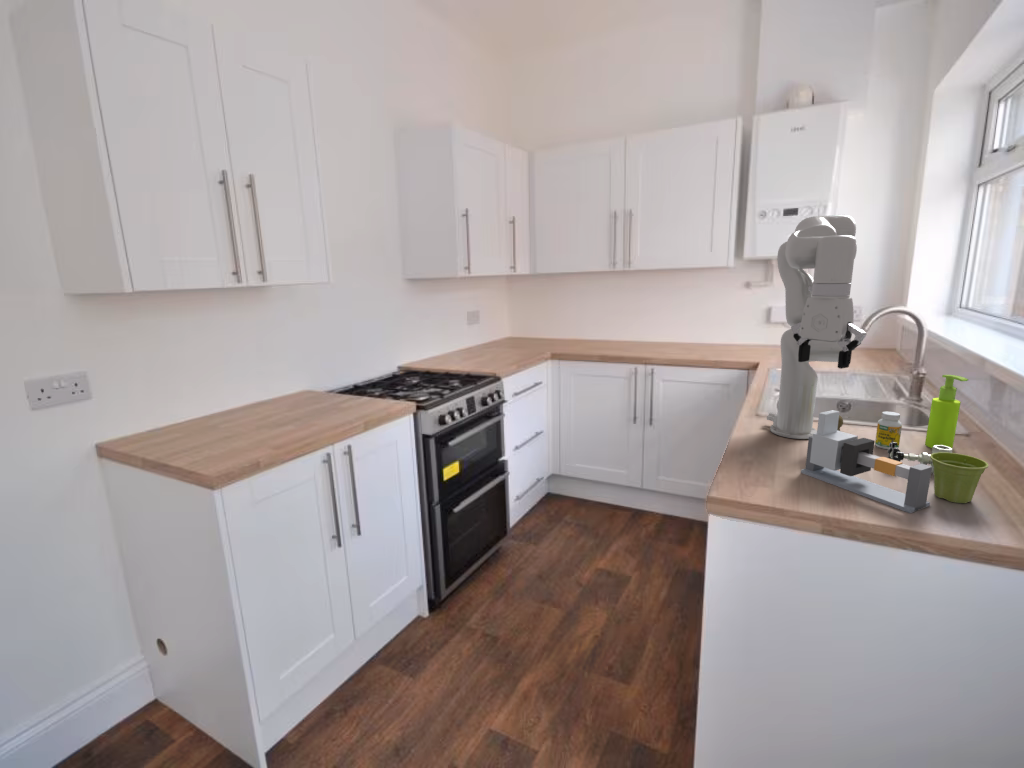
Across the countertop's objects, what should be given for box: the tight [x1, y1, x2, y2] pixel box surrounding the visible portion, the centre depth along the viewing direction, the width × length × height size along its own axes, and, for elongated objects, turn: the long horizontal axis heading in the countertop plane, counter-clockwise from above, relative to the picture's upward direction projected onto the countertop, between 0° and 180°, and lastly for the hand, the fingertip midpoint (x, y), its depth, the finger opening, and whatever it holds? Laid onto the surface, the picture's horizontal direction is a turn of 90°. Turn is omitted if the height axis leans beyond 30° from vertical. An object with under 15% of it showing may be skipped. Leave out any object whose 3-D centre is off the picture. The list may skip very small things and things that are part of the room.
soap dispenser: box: [924, 374, 969, 450], centre depth 138 cm, size 6×7×20 cm
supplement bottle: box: [874, 411, 903, 450], centre depth 141 cm, size 5×5×10 cm
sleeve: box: [810, 409, 859, 471], centre depth 121 cm, size 6×7×12 cm
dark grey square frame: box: [839, 437, 875, 476], centre depth 116 cm, size 2×7×7 cm, turn 115°
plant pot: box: [930, 452, 989, 504], centre depth 110 cm, size 9×9×9 cm
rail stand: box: [800, 436, 932, 514], centre depth 116 cm, size 24×7×9 cm, turn 25°
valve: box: [886, 442, 954, 475], centre depth 125 cm, size 7×7×12 cm
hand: (822, 364), depth 122 cm, fingers open, 9 cm apart
